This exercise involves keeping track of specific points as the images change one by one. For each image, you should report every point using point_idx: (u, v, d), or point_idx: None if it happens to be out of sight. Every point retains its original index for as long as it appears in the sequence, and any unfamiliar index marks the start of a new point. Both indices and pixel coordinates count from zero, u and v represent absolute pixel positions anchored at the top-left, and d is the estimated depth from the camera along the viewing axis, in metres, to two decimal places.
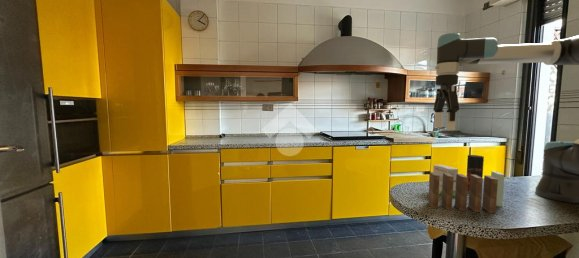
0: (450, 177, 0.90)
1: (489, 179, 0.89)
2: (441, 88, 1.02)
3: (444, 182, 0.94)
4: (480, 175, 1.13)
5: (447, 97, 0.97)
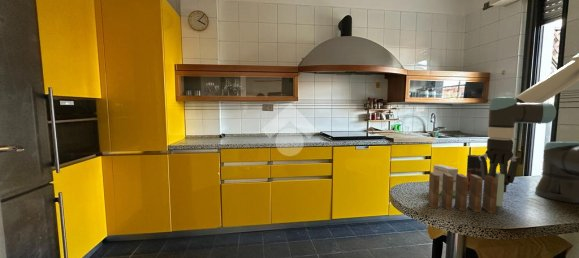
0: (450, 177, 0.90)
1: (489, 179, 0.89)
2: None
3: (444, 182, 0.94)
4: (480, 175, 1.13)
5: (490, 165, 0.97)
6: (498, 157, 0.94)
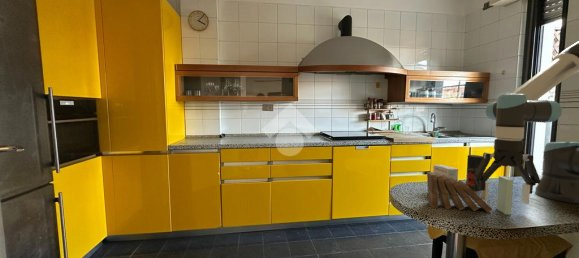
0: (439, 177, 0.91)
1: None
2: None
3: None
4: None
5: (492, 164, 0.90)
6: (506, 159, 0.87)
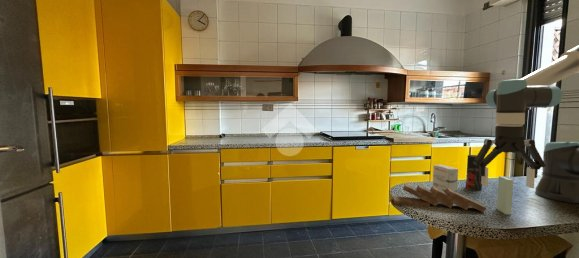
0: (405, 188, 0.97)
1: None
2: None
3: None
4: None
5: (492, 150, 0.90)
6: (507, 145, 0.86)
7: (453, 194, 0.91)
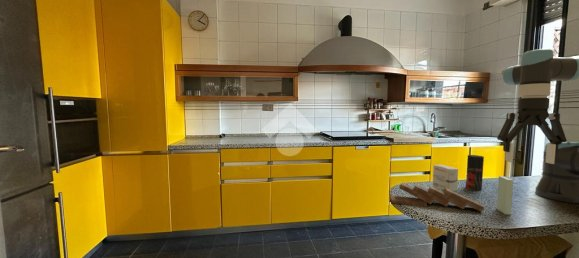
0: (401, 187, 1.00)
1: (446, 194, 0.94)
2: None
3: None
4: (480, 175, 1.13)
5: (516, 125, 0.88)
6: (531, 118, 0.84)
7: (450, 193, 0.92)
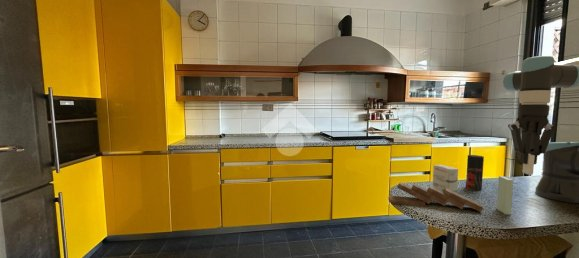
0: (399, 186, 0.99)
1: (445, 194, 0.94)
2: None
3: None
4: (480, 175, 1.13)
5: (522, 134, 0.87)
6: (532, 124, 0.84)
7: (450, 193, 0.92)
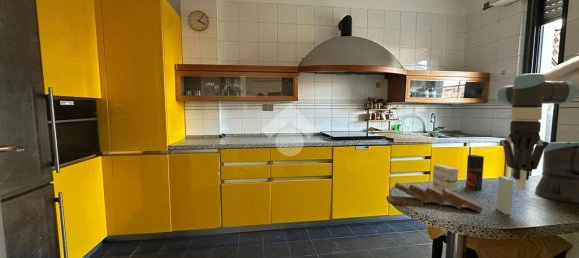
0: (396, 186, 0.99)
1: None
2: None
3: None
4: (480, 175, 1.13)
5: (515, 150, 0.88)
6: (524, 140, 0.85)
7: (449, 194, 0.92)
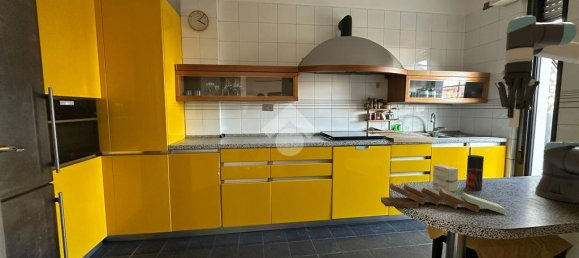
0: (393, 188, 0.95)
1: None
2: None
3: None
4: (480, 175, 1.13)
5: (508, 91, 0.94)
6: (516, 80, 0.91)
7: (446, 195, 0.92)
